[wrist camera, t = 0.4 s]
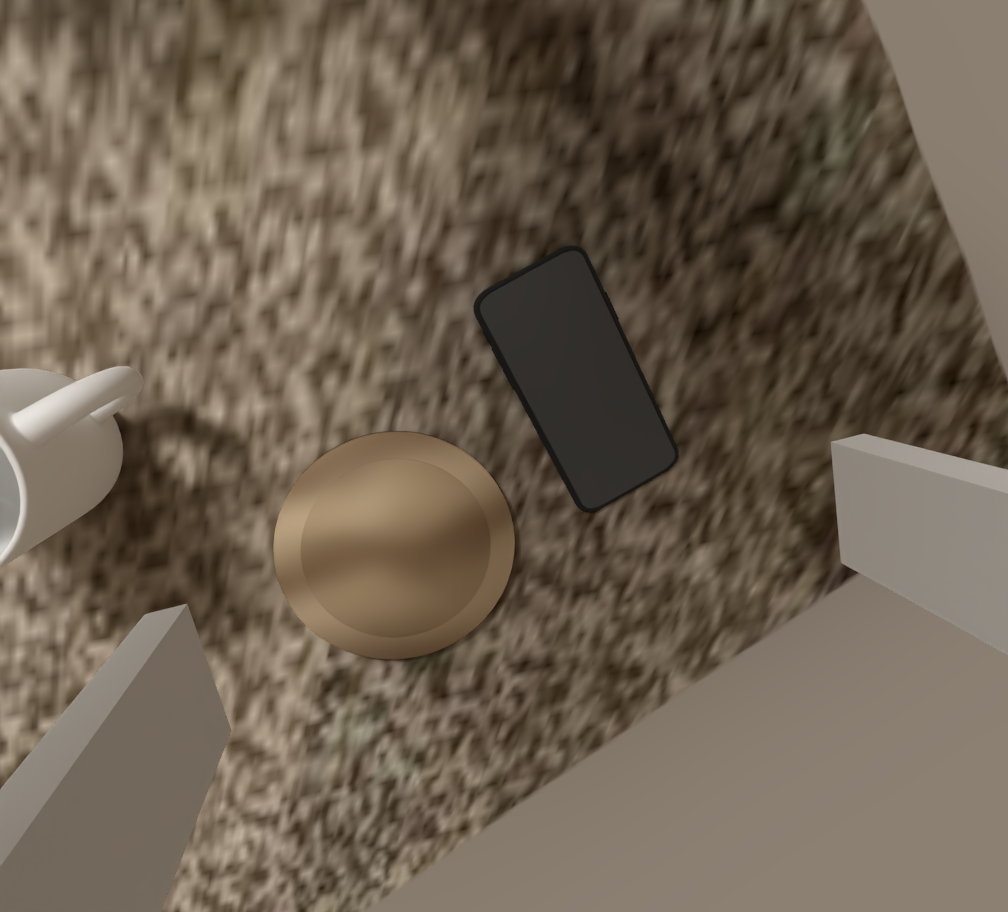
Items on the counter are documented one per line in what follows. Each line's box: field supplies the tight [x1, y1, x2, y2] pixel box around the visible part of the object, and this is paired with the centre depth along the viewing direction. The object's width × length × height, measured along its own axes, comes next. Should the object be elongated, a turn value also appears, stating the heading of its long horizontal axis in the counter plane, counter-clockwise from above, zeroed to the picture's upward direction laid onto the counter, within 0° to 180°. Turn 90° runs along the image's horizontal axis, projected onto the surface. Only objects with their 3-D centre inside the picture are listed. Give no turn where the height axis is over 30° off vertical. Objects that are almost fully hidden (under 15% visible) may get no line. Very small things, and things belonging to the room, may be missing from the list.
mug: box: [0, 366, 143, 568], centre depth 30 cm, size 12×8×10 cm
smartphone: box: [474, 246, 678, 512], centre depth 39 cm, size 7×1×15 cm
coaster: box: [273, 431, 515, 659], centre depth 39 cm, size 14×14×1 cm
